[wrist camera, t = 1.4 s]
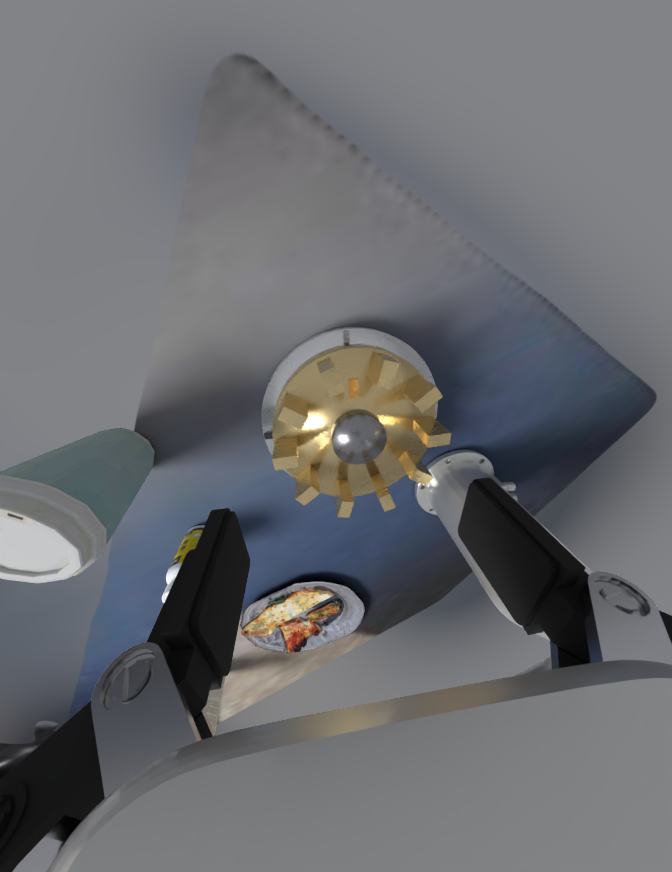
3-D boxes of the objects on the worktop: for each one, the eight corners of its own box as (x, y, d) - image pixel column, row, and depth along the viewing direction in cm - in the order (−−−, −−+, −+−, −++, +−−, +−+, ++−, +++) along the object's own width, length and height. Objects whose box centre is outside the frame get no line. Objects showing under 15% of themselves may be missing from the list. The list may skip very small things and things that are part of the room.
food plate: (285, 653, 61) (284, 671, 58) (217, 610, 50) (212, 630, 47) (377, 609, 58) (382, 626, 55) (327, 555, 48) (330, 572, 45)
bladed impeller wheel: (421, 473, 37) (443, 505, 31) (289, 494, 36) (288, 531, 30) (433, 333, 28) (467, 343, 22) (256, 355, 27) (245, 370, 21)
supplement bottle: (190, 520, 39) (159, 583, 30) (227, 528, 40) (208, 590, 32) (182, 543, 41) (151, 609, 32) (218, 550, 42) (197, 614, 34)
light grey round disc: (451, 333, 30) (461, 336, 28) (410, 482, 40) (416, 491, 39) (257, 318, 27) (254, 320, 25) (267, 484, 37) (265, 495, 35)
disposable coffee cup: (154, 494, 36) (70, 608, 23) (62, 459, 32) (-106, 574, 19) (186, 438, 32) (109, 534, 19) (87, 391, 28) (-96, 473, 15)
